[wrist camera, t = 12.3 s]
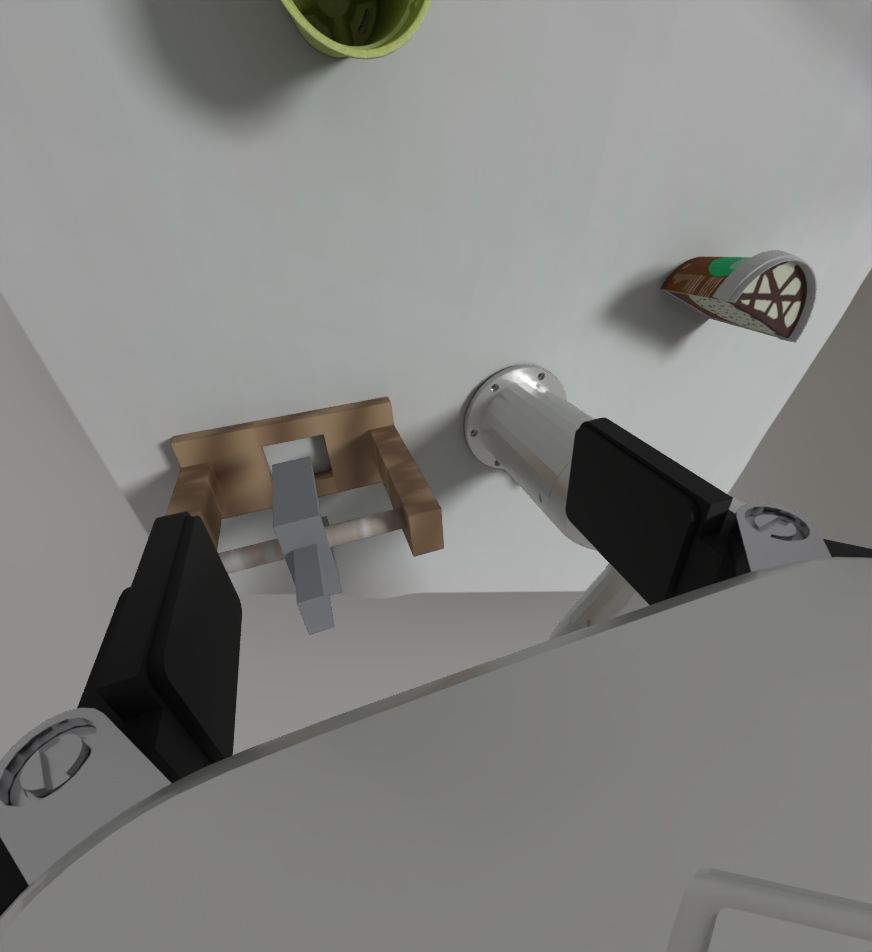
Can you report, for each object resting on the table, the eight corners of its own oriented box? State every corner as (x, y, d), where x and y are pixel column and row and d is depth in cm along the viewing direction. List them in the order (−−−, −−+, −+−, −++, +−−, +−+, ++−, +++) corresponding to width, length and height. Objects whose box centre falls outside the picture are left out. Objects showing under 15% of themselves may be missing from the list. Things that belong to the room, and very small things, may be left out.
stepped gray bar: (329, 526, 40) (351, 645, 29) (296, 534, 39) (307, 659, 28) (309, 456, 36) (326, 565, 25) (272, 464, 35) (273, 580, 24)
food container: (750, 270, 50) (842, 283, 42) (716, 322, 52) (798, 344, 44) (685, 223, 44) (777, 227, 36) (651, 284, 47) (731, 300, 39)
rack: (387, 396, 44) (439, 480, 30) (397, 471, 49) (445, 570, 35) (173, 436, 39) (124, 555, 26) (208, 514, 44) (182, 647, 31)
